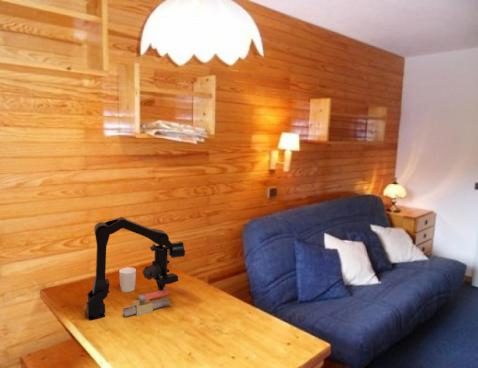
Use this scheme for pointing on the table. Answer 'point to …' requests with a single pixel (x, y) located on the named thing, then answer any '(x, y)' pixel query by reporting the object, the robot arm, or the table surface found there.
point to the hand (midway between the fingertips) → (160, 291)
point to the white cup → (127, 279)
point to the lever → (153, 294)
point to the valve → (145, 307)
